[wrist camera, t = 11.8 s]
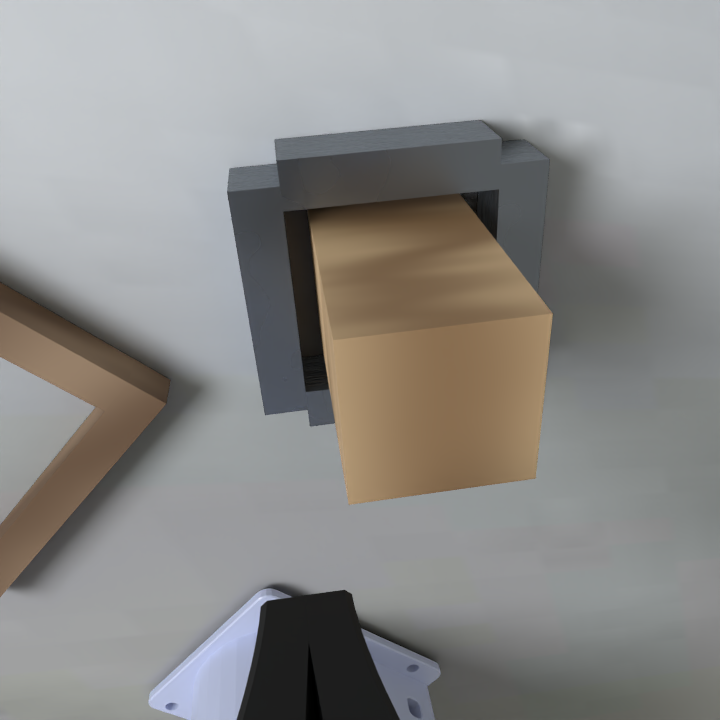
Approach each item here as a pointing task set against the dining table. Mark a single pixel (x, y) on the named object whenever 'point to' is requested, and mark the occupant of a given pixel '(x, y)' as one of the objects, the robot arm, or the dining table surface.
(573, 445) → the dining table surface
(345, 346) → the oak peg
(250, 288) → the socket block
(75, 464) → the stand collar
